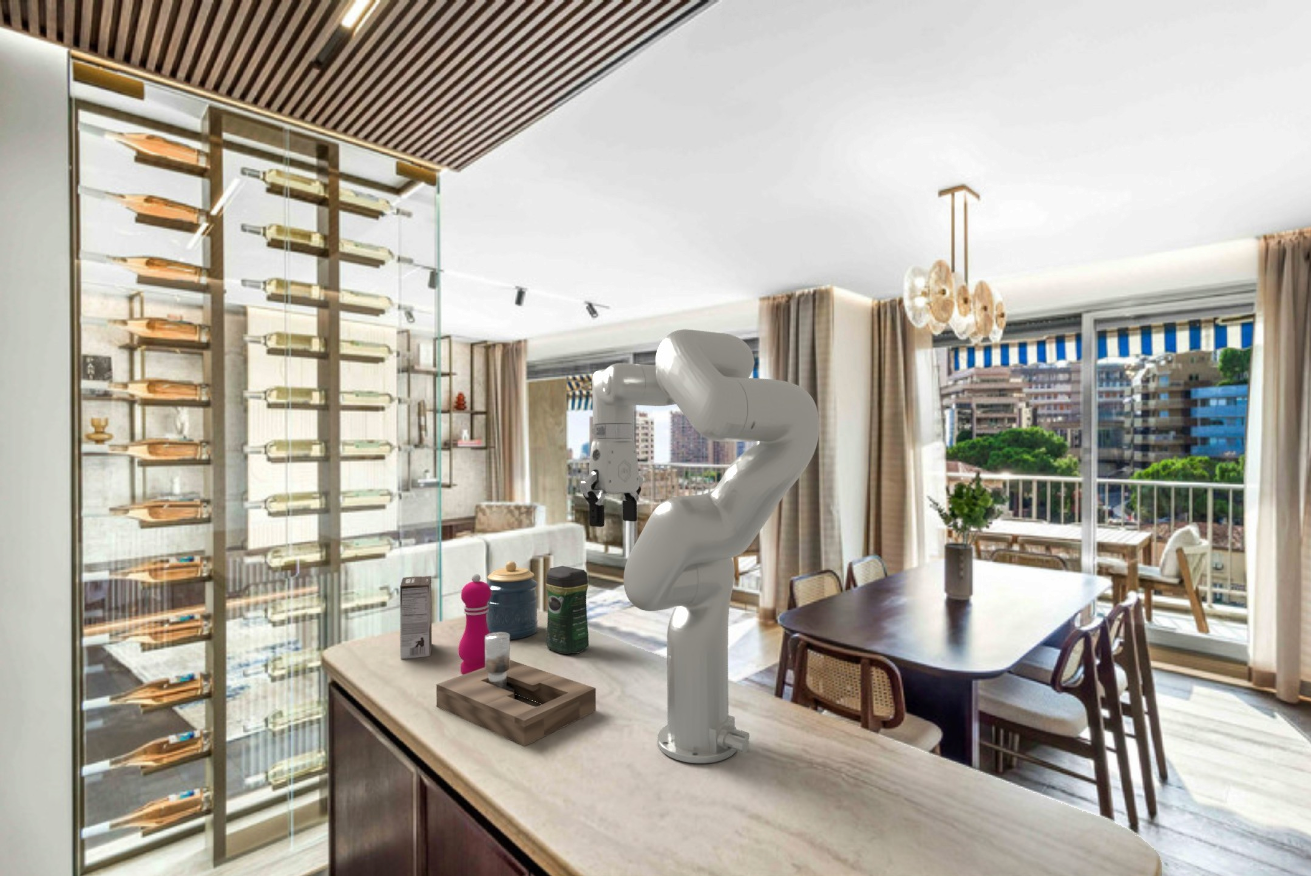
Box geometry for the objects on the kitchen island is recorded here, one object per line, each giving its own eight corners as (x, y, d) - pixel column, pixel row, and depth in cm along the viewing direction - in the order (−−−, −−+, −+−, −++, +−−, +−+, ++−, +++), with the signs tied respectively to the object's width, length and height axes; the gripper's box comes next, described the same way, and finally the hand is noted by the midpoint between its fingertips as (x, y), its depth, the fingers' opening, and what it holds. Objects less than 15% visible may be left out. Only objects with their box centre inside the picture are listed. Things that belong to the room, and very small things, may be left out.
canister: (545, 634, 153) (545, 562, 153) (493, 644, 146) (493, 568, 146) (527, 621, 164) (526, 554, 164) (477, 630, 157) (477, 559, 157)
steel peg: (521, 700, 115) (521, 634, 115) (494, 711, 110) (494, 643, 110) (500, 692, 118) (500, 628, 118) (473, 702, 114) (473, 636, 114)
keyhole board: (595, 710, 110) (595, 687, 110) (524, 746, 97) (524, 720, 97) (508, 679, 125) (508, 659, 125) (436, 706, 112) (436, 683, 112)
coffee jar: (594, 648, 143) (594, 567, 143) (567, 657, 137) (567, 572, 137) (567, 639, 149) (566, 561, 149) (540, 648, 143) (540, 567, 143)
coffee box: (402, 646, 145) (402, 576, 145) (432, 643, 147) (432, 574, 147) (399, 659, 136) (398, 585, 136) (430, 656, 138) (430, 583, 138)
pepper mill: (499, 664, 133) (499, 570, 133) (487, 677, 126) (486, 578, 126) (466, 663, 133) (466, 570, 134) (452, 676, 126) (451, 577, 126)
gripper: (597, 433, 111) (598, 530, 111) (655, 434, 125) (656, 520, 124) (566, 434, 115) (567, 527, 115) (625, 435, 129) (627, 518, 129)
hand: (613, 523), depth 120 cm, fingers open, 9 cm apart
